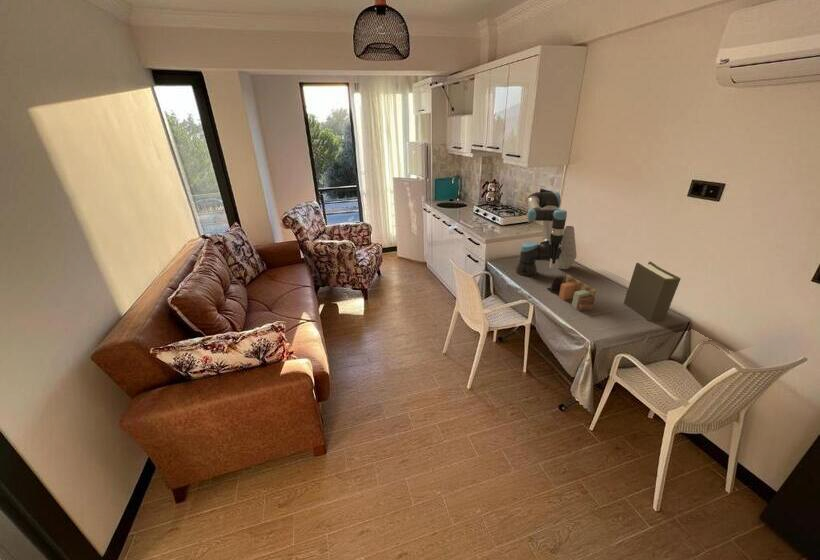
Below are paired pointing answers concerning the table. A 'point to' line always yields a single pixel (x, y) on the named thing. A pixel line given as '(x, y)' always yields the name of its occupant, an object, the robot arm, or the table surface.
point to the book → (651, 291)
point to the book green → (579, 296)
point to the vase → (567, 249)
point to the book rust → (567, 290)
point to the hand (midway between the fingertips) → (551, 267)
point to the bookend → (556, 284)
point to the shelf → (586, 301)
